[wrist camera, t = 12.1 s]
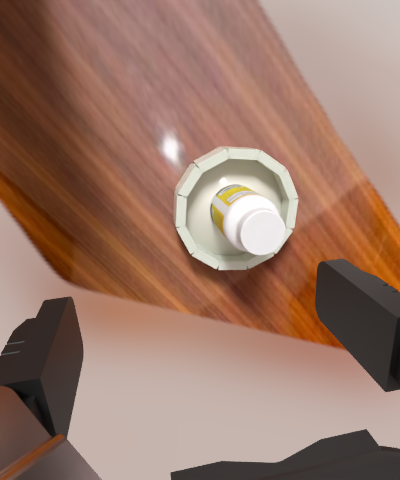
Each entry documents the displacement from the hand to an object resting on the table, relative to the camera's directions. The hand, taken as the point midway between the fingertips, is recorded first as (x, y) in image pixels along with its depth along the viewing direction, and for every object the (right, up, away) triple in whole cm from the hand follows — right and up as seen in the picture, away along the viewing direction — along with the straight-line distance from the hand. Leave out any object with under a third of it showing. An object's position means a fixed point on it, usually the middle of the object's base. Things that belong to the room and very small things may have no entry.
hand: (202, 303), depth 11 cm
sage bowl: (+3, +6, +28) cm, 29 cm away
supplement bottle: (+4, +6, +27) cm, 28 cm away
